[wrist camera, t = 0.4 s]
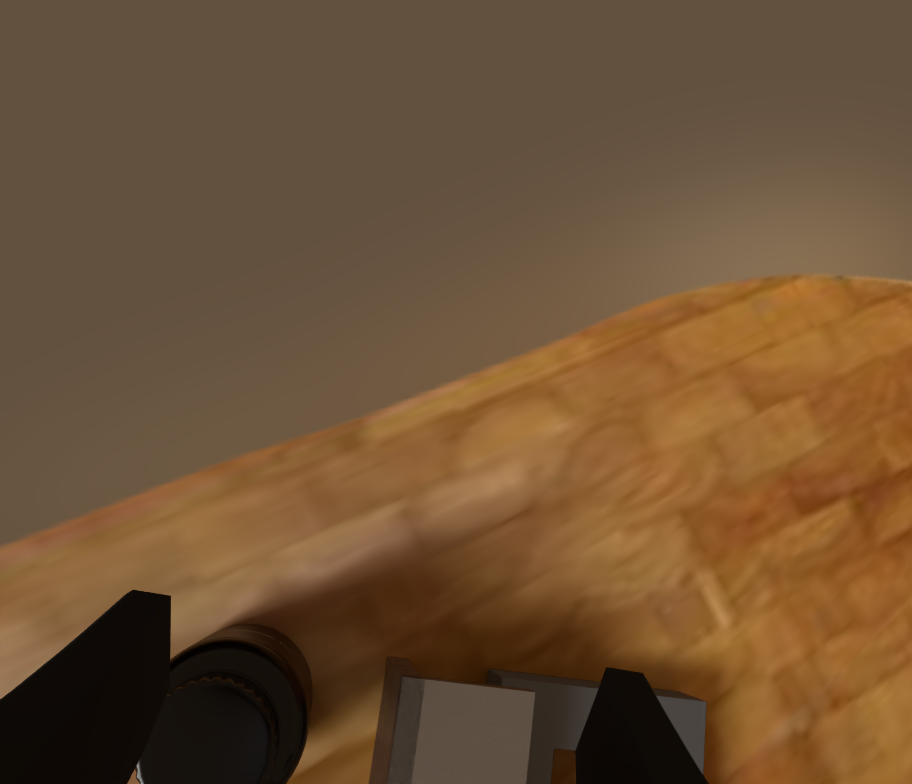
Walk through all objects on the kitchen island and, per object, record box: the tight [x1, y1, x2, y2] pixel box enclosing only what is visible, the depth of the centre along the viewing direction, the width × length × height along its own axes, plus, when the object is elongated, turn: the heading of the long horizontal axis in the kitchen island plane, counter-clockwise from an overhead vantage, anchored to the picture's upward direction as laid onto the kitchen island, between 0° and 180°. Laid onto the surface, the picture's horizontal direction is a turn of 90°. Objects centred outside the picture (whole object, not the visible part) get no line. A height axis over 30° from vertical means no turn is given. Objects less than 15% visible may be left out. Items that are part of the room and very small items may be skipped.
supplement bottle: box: [135, 624, 312, 784], centre depth 31 cm, size 7×7×12 cm
